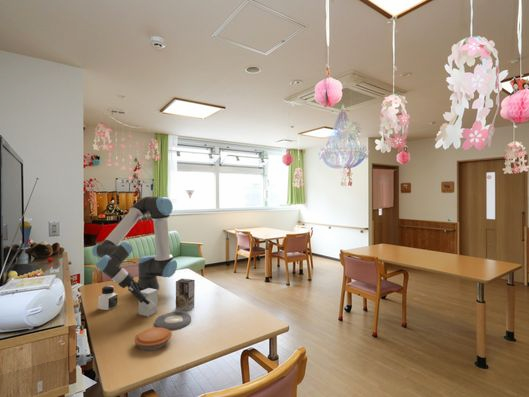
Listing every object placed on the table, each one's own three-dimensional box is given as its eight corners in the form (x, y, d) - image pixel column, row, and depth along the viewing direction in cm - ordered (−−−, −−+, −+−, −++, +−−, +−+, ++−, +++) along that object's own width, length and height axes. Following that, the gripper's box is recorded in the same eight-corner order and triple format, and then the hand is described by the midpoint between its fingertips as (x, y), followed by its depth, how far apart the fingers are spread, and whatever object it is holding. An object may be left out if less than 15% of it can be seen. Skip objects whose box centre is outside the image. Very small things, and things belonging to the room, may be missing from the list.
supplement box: (158, 311, 160) (158, 289, 160) (147, 316, 154) (148, 293, 154) (148, 309, 164) (148, 287, 163) (137, 314, 157) (138, 291, 157)
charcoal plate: (167, 312, 159) (167, 310, 159) (197, 316, 156) (197, 314, 155) (147, 327, 142) (147, 324, 142) (180, 331, 138) (180, 329, 138)
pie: (128, 354, 118) (128, 342, 118) (142, 335, 134) (142, 325, 134) (165, 353, 119) (166, 341, 119) (175, 335, 135) (175, 324, 135)
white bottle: (108, 310, 161) (108, 289, 161) (97, 309, 163) (97, 288, 162) (117, 305, 168) (117, 285, 168) (107, 304, 170) (107, 284, 169)
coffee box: (194, 306, 168) (195, 279, 168) (188, 311, 162) (188, 282, 162) (181, 304, 171) (182, 278, 171) (175, 308, 165) (175, 281, 165)
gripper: (119, 277, 164) (147, 300, 170) (115, 291, 141) (148, 316, 147) (129, 267, 166) (156, 290, 172) (127, 279, 143) (159, 305, 149)
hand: (152, 302), depth 160 cm, fingers open, 12 cm apart
